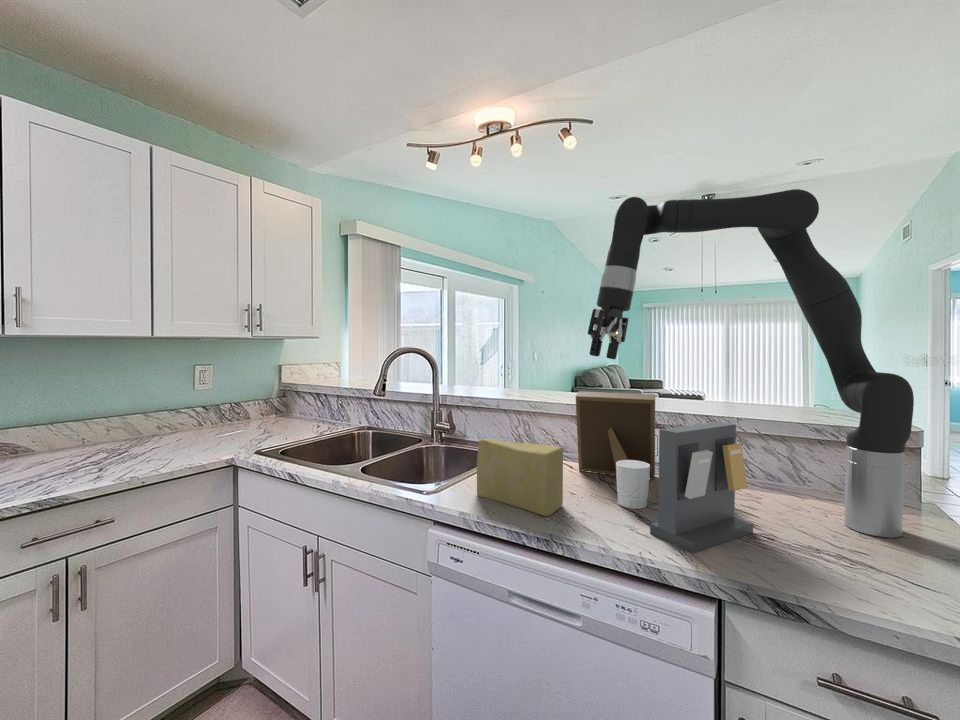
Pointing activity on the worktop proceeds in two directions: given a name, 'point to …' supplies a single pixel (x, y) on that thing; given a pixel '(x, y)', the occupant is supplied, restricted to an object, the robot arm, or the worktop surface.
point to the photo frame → (615, 430)
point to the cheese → (521, 475)
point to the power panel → (701, 516)
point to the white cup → (632, 483)
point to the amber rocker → (734, 466)
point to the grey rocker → (698, 474)
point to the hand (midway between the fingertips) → (602, 357)
